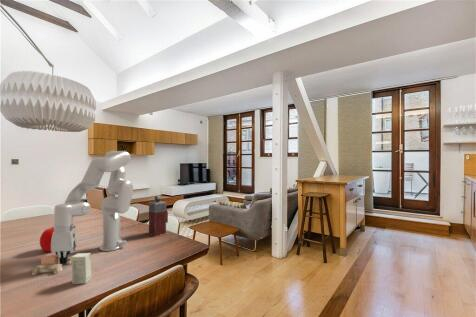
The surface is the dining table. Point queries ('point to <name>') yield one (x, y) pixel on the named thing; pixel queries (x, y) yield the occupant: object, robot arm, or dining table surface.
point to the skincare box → (81, 268)
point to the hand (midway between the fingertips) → (63, 264)
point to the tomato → (46, 239)
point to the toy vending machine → (157, 217)
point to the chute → (50, 267)
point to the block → (50, 259)
